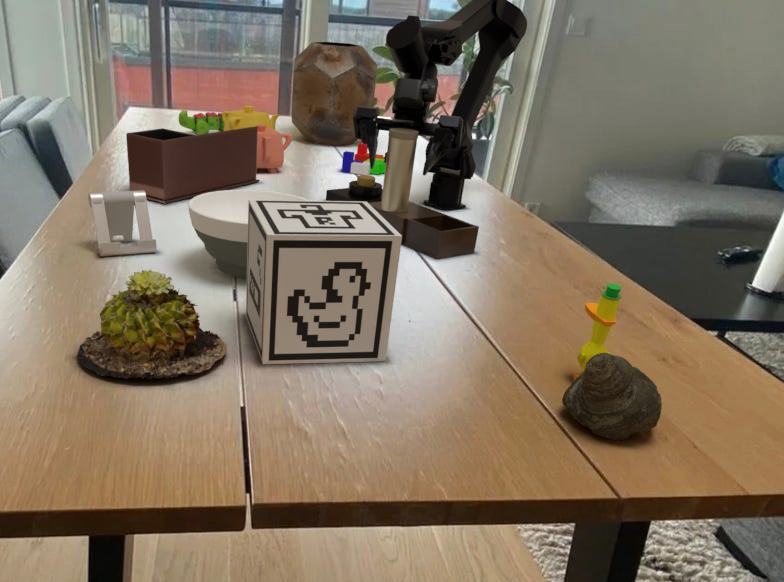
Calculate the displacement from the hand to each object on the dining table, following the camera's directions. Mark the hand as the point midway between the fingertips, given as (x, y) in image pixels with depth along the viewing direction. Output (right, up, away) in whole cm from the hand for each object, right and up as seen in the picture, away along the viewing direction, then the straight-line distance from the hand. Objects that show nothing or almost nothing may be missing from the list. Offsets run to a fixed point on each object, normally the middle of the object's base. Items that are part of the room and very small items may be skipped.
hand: (397, 170), depth 132 cm
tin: (0, -5, +5) cm, 7 cm away
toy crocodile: (-41, +43, +81) cm, 101 cm away
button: (-4, +6, +23) cm, 24 cm away
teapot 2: (-26, +19, +47) cm, 57 cm away
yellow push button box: (-4, +3, +25) cm, 25 cm away
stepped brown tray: (+4, -10, +6) cm, 12 cm away
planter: (-9, +41, +83) cm, 93 cm away
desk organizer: (-39, +7, +28) cm, 48 cm away
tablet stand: (-45, -16, -9) cm, 49 cm away
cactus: (-34, -39, -42) cm, 66 cm away
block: (-15, -35, -34) cm, 51 cm away
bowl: (-24, -21, -13) cm, 34 cm away
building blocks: (+1, +22, +54) cm, 59 cm away
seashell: (+18, -47, -49) cm, 70 cm away
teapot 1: (-30, +31, +65) cm, 78 cm away
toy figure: (+17, -41, -40) cm, 60 cm away
